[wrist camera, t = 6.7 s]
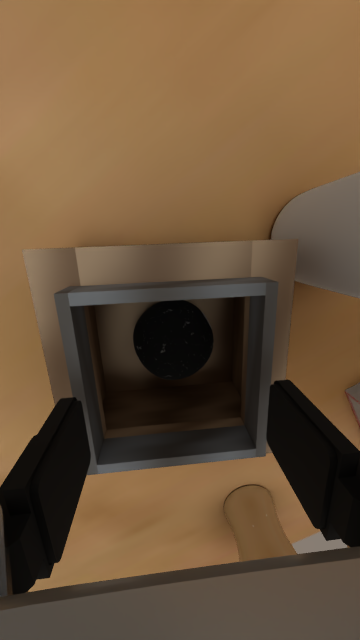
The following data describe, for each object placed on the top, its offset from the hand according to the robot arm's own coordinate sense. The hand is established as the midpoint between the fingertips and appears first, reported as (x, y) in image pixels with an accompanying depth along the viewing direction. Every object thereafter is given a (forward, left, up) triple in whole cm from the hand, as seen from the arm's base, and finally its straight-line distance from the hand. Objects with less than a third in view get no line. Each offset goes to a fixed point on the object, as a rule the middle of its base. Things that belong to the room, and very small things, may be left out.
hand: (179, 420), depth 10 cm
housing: (0, 0, -13) cm, 13 cm away
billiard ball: (0, 0, -13) cm, 13 cm away
